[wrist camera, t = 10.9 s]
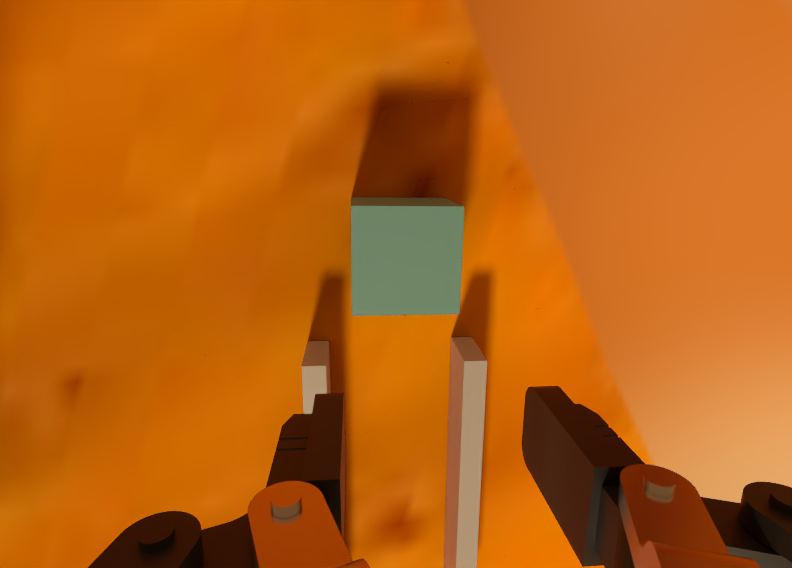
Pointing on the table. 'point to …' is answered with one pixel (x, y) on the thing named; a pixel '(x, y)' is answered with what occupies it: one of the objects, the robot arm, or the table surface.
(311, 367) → the grey channel
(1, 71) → the table surface
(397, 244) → the teal block
